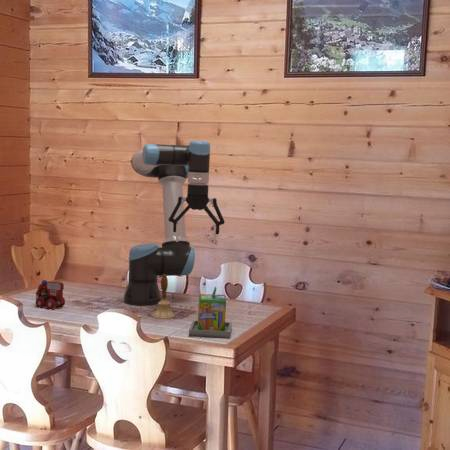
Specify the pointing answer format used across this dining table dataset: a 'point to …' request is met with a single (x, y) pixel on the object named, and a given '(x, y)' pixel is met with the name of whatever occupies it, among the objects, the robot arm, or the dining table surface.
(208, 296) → the chalk box
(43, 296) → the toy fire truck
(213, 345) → the dining table surface
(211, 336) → the tray
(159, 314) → the hand bell
